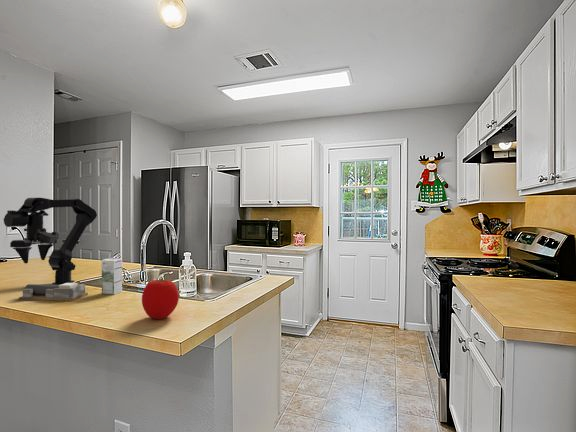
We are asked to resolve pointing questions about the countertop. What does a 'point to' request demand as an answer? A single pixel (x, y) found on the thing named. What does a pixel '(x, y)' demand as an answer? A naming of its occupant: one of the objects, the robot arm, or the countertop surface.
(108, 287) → the syrup box
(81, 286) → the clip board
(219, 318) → the countertop surface
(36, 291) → the gray rod with block
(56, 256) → the robot arm
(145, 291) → the red apple
